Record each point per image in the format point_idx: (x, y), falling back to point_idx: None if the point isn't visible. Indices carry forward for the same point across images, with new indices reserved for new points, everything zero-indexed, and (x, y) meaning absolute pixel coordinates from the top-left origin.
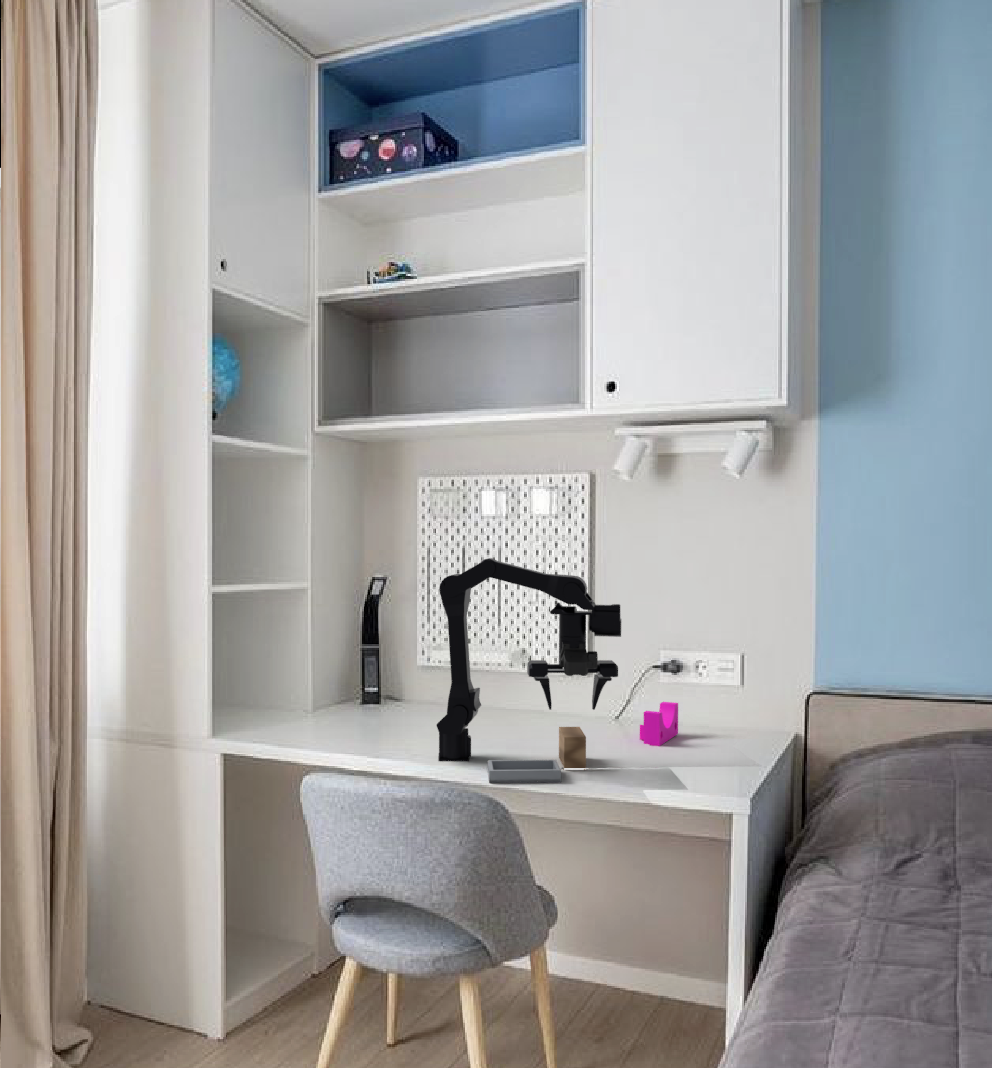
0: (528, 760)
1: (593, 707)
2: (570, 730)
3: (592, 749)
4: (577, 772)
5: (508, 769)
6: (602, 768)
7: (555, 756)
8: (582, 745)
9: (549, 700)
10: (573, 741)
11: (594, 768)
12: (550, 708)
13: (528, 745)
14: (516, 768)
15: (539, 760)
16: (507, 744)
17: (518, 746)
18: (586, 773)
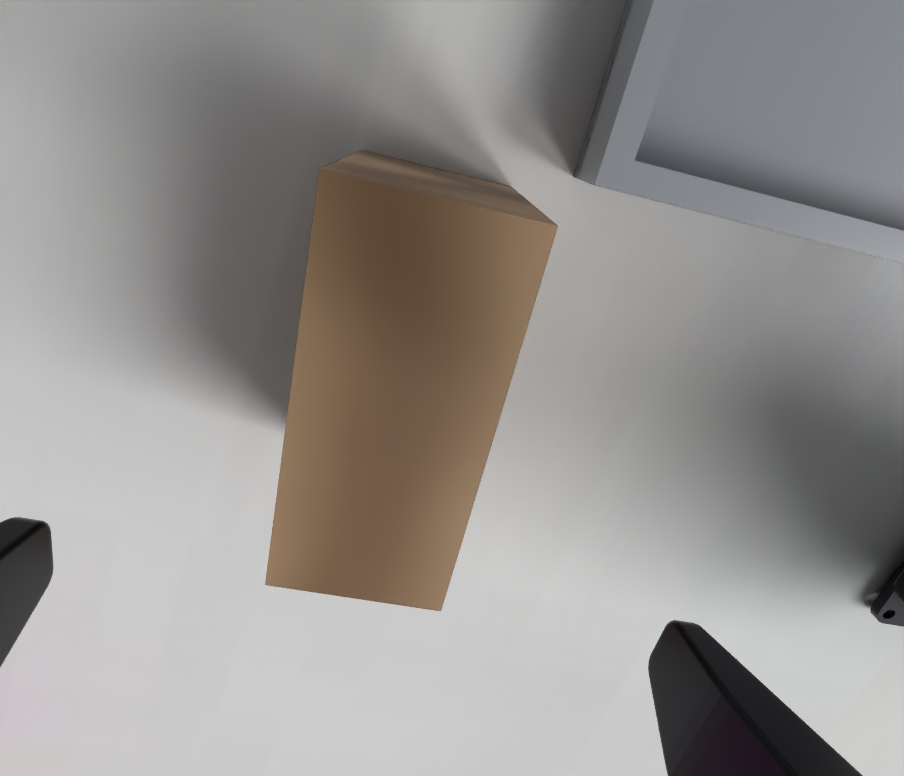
0: (806, 213)
1: (17, 532)
2: (388, 482)
3: (190, 596)
4: (440, 105)
5: (898, 228)
6: (228, 169)
7: None
8: (368, 171)
9: (783, 733)
10: (456, 197)
11: (285, 185)
12: (693, 627)
13: (495, 709)
14: (853, 217)
15: (728, 193)
16: (583, 736)
17: (549, 702)
18: (384, 55)
